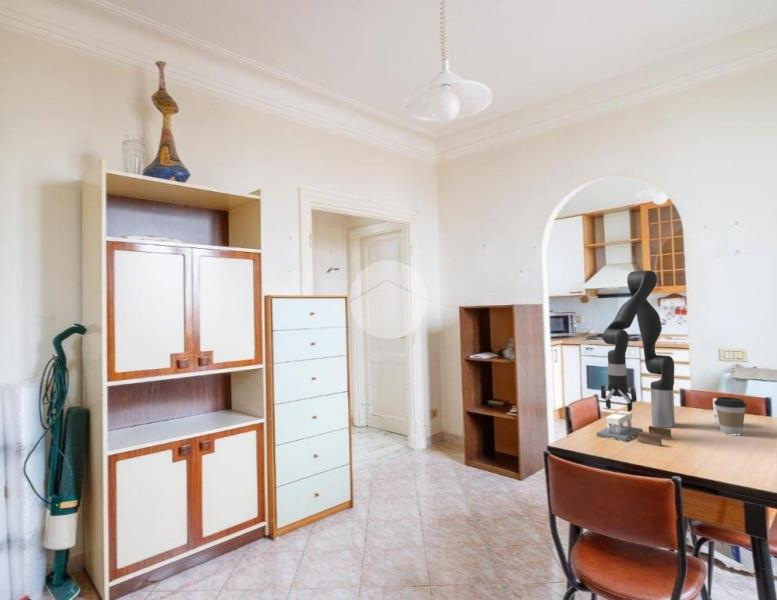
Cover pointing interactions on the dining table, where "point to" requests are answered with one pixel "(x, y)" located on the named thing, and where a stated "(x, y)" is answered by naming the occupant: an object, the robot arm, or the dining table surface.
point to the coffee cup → (730, 414)
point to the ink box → (715, 411)
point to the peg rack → (619, 431)
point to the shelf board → (619, 418)
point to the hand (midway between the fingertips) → (619, 409)
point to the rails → (654, 435)
